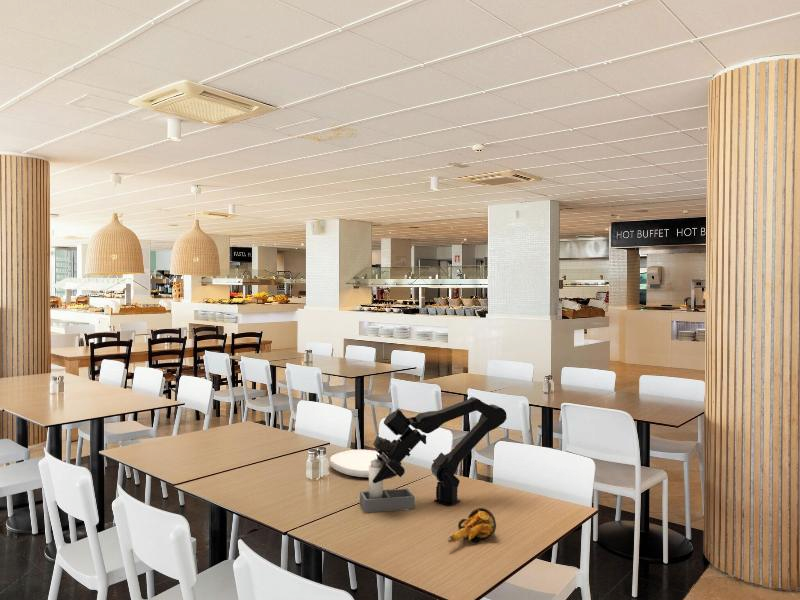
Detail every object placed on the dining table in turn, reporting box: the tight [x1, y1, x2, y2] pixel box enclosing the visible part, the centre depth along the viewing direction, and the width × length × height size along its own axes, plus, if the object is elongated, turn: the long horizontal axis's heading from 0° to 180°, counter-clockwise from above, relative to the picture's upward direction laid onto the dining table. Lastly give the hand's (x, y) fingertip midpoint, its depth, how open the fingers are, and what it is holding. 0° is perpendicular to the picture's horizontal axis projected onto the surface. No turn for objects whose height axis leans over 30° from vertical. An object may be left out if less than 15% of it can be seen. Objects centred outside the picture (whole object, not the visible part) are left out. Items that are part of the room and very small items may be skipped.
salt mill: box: [368, 459, 384, 499], centre depth 198 cm, size 5×5×14 cm
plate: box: [329, 449, 379, 478], centre depth 239 cm, size 28×6×27 cm
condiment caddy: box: [359, 487, 416, 514], centre depth 199 cm, size 16×9×4 cm, turn 104°
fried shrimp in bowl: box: [447, 507, 497, 545], centre depth 171 cm, size 9×11×18 cm
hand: (371, 480), depth 198 cm, fingers closed on salt mill, 5 cm apart
